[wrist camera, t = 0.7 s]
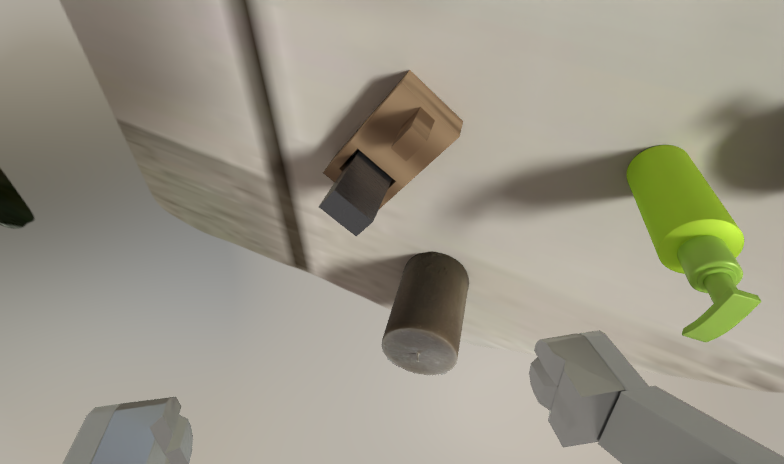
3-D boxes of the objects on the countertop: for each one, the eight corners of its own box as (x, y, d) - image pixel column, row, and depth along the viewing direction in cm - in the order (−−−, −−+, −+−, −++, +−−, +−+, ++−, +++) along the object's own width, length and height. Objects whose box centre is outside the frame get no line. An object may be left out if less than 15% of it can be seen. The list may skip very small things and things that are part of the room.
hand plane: (409, 69, 43) (389, 100, 36) (463, 121, 45) (453, 159, 38) (334, 157, 52) (306, 195, 45) (381, 196, 54) (362, 238, 47)
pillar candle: (432, 240, 57) (409, 325, 45) (483, 279, 59) (473, 369, 47) (391, 273, 63) (362, 355, 51) (439, 308, 65) (421, 393, 53)
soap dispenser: (610, 192, 46) (657, 332, 31) (646, 138, 42) (721, 270, 26) (662, 207, 46) (734, 356, 31) (703, 154, 41) (813, 297, 26)
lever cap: (368, 137, 49) (334, 190, 40) (398, 164, 50) (373, 221, 41) (350, 157, 51) (314, 211, 42) (380, 182, 53) (351, 240, 44)
